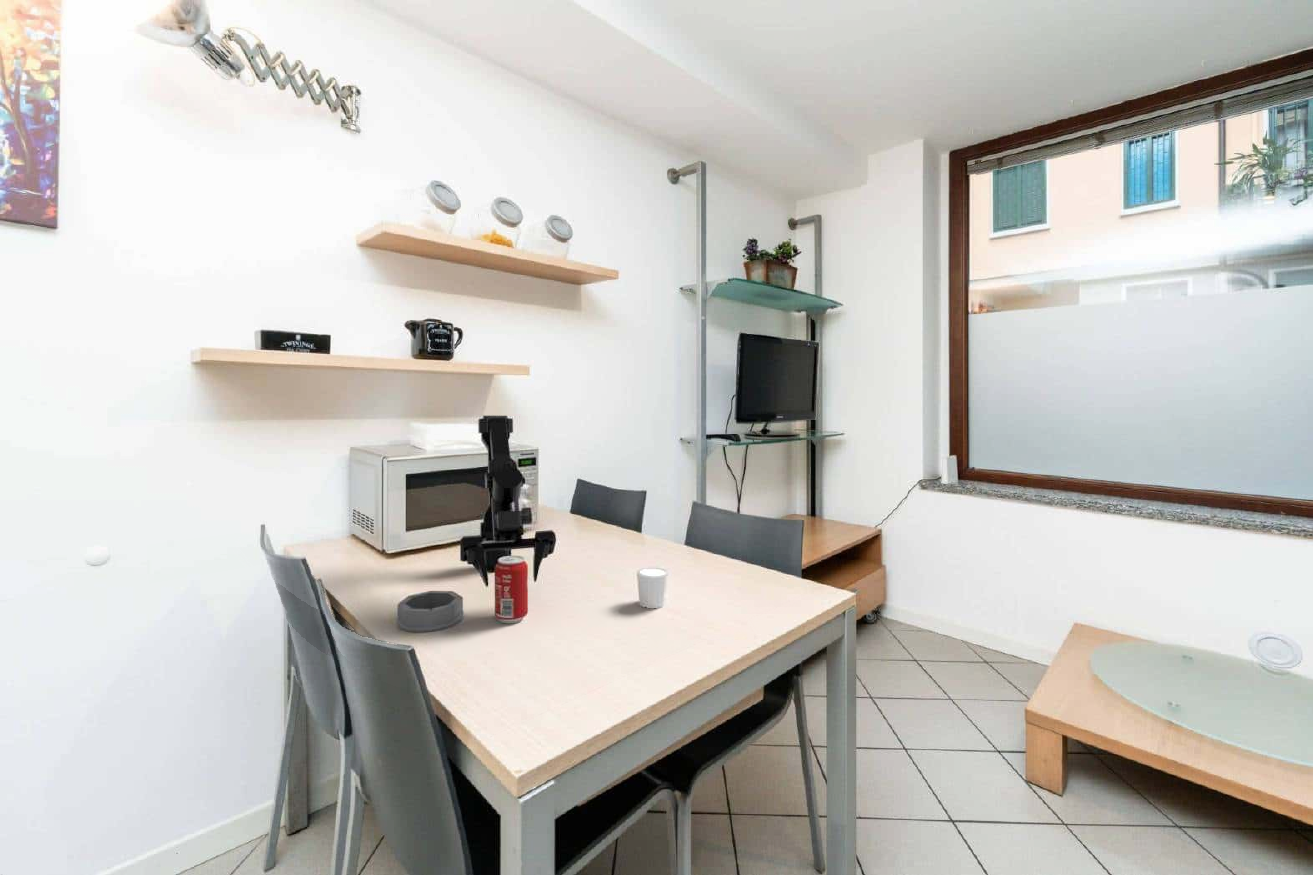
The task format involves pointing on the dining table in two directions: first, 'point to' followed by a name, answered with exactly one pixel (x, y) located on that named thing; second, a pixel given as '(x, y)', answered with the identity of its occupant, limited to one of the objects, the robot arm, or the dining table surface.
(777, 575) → the dining table surface
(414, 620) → the cup holder
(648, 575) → the white cup
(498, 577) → the beverage can
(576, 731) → the dining table surface
